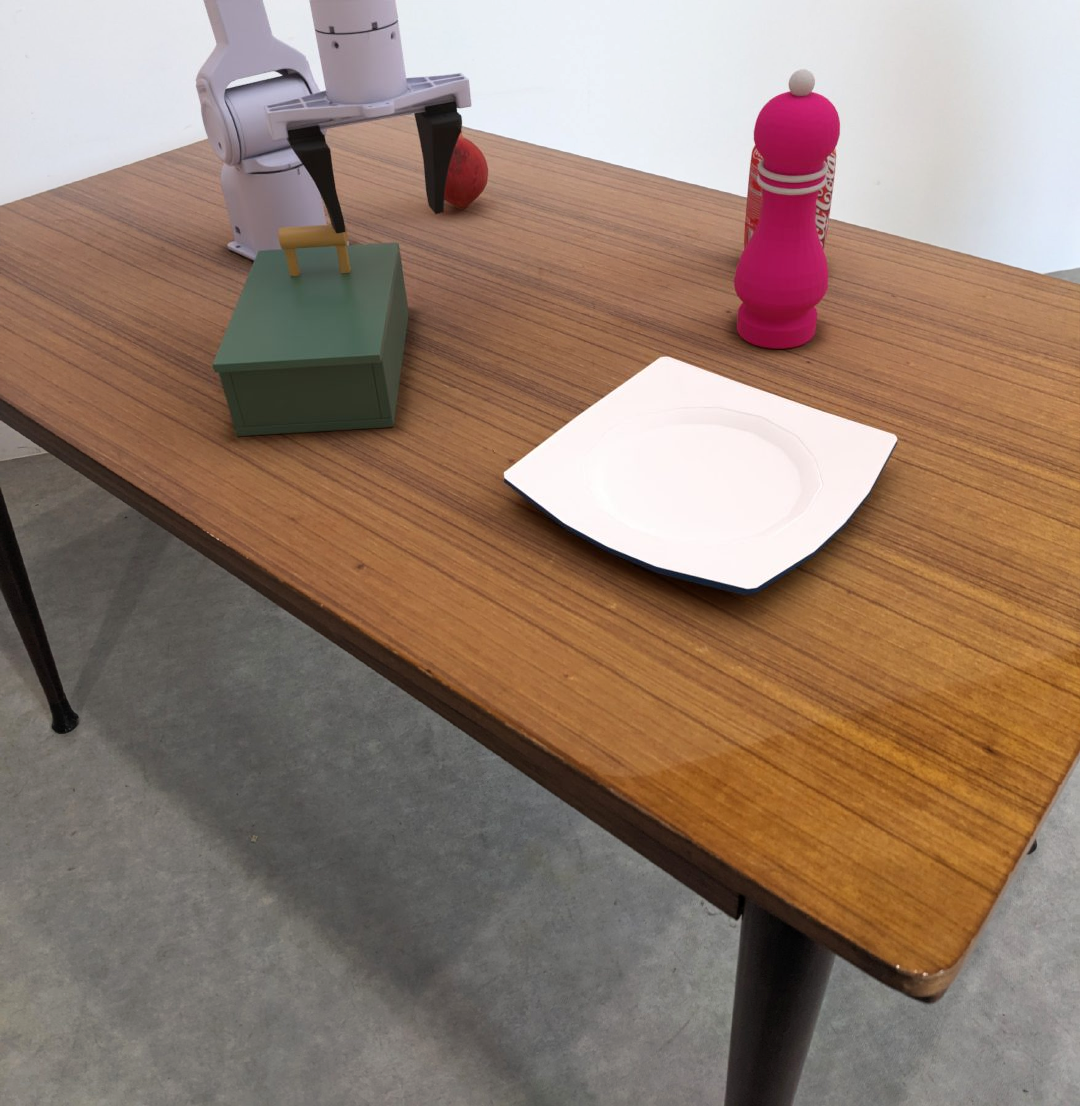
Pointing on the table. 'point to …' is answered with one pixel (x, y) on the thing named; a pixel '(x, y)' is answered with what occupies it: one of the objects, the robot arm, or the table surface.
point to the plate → (704, 476)
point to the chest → (323, 388)
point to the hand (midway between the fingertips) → (388, 218)
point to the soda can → (756, 199)
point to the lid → (311, 304)
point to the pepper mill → (787, 219)
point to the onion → (465, 174)
